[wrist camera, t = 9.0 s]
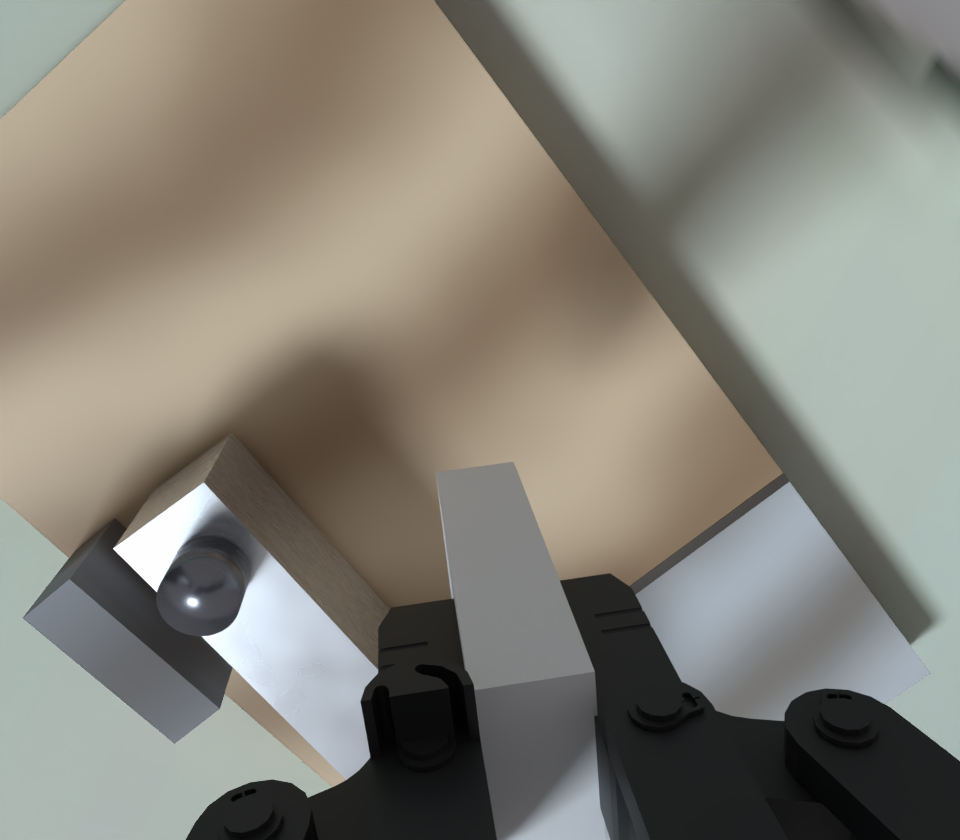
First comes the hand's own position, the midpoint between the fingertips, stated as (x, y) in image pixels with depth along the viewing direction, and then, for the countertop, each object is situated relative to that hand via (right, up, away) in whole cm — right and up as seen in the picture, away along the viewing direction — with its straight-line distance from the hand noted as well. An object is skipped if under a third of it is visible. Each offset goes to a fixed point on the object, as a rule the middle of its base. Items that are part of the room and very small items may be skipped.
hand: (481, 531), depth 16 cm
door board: (-1, 0, +6) cm, 6 cm away
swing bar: (-4, -3, +5) cm, 7 cm away
